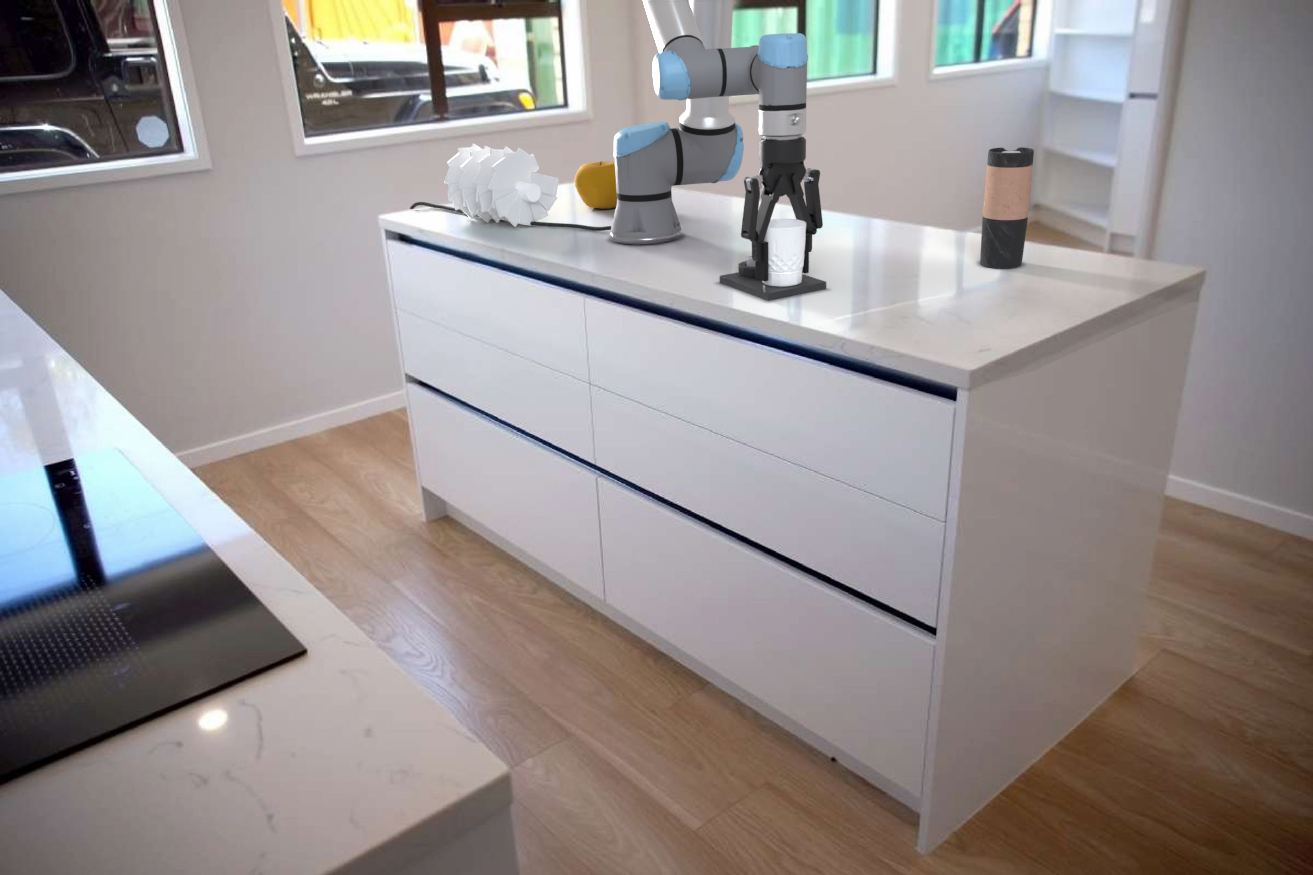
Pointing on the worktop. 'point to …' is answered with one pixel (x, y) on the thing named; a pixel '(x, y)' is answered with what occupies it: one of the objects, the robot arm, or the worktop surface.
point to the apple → (597, 184)
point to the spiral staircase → (499, 185)
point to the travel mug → (1006, 207)
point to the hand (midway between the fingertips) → (782, 275)
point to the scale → (756, 287)
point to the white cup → (785, 252)
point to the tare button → (750, 262)
